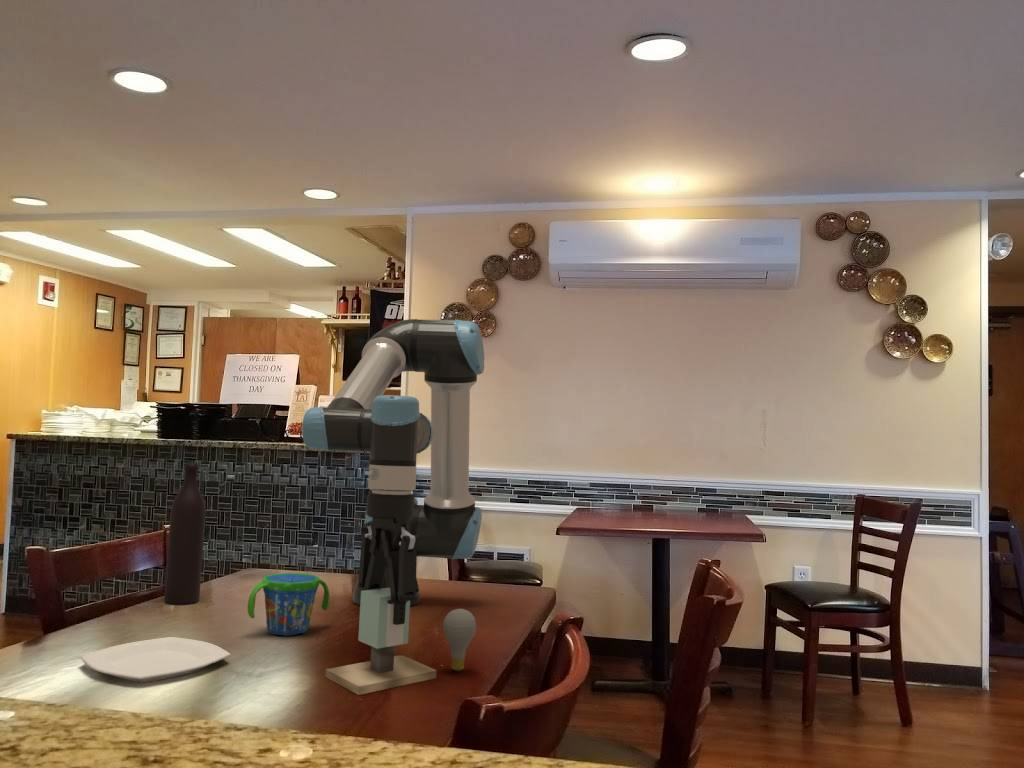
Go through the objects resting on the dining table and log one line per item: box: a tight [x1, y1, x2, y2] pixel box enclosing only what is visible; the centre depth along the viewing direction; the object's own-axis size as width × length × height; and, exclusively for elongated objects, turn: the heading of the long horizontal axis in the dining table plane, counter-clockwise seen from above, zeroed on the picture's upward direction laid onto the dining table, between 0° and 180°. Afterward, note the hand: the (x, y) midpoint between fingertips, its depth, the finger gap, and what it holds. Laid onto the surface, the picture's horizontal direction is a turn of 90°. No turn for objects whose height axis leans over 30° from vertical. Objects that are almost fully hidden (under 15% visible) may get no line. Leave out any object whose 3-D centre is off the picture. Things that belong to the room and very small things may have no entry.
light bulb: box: [442, 608, 477, 673], centre depth 124 cm, size 5×6×10 cm
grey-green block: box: [357, 588, 411, 649], centre depth 120 cm, size 6×6×8 cm
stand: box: [325, 646, 437, 696], centre depth 119 cm, size 14×10×7 cm
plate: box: [80, 636, 231, 683], centre depth 121 cm, size 19×19×2 cm
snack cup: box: [247, 572, 331, 637], centre depth 144 cm, size 16×10×10 cm
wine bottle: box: [163, 462, 206, 606], centre depth 166 cm, size 7×7×30 cm
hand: (383, 640), depth 120 cm, fingers closed on grey-green block, 6 cm apart
